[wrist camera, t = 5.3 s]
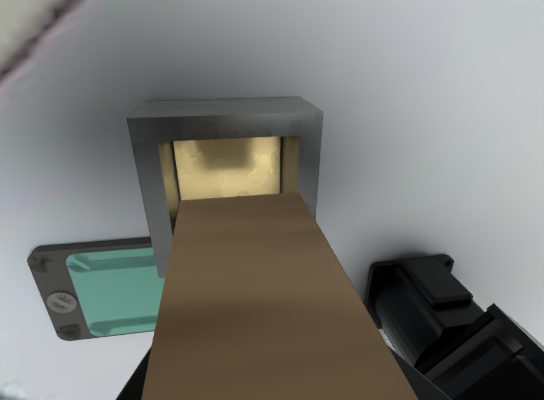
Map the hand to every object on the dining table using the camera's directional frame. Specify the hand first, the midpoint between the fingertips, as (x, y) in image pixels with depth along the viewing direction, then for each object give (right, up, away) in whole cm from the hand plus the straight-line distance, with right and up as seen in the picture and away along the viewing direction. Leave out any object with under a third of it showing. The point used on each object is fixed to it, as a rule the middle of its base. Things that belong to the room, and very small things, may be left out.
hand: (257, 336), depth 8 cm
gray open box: (-2, +5, +10) cm, 12 cm away
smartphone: (-6, -2, +14) cm, 15 cm away
